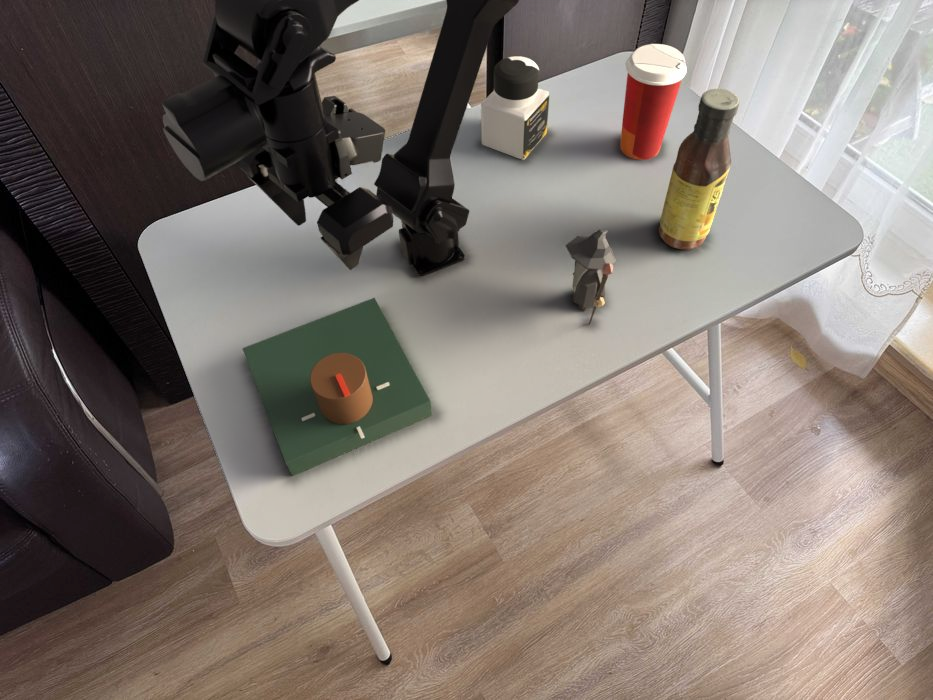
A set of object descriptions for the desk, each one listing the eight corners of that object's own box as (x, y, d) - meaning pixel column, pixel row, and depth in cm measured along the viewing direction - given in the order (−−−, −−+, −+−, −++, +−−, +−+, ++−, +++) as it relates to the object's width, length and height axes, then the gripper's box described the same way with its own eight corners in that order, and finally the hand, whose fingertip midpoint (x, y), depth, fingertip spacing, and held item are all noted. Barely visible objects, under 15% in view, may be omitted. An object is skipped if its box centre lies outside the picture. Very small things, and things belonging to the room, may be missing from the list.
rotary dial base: (377, 313, 86) (374, 296, 84) (436, 421, 77) (434, 406, 75) (249, 363, 82) (241, 347, 80) (294, 483, 73) (287, 469, 71)
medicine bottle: (523, 161, 101) (526, 87, 92) (480, 145, 104) (479, 71, 94) (547, 133, 105) (552, 59, 95) (505, 118, 107) (506, 44, 98)
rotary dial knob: (312, 391, 76) (301, 363, 72) (361, 371, 78) (353, 343, 73) (330, 432, 73) (320, 406, 69) (380, 411, 75) (373, 384, 70)
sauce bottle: (706, 255, 90) (752, 122, 74) (655, 249, 91) (690, 116, 75) (706, 219, 94) (751, 85, 78) (658, 213, 95) (692, 80, 78)
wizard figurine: (551, 293, 87) (559, 222, 77) (589, 275, 89) (601, 203, 79) (591, 340, 83) (605, 270, 73) (630, 320, 84) (648, 249, 75)
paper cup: (675, 141, 103) (698, 51, 92) (653, 171, 99) (674, 82, 88) (625, 123, 106) (641, 35, 94) (602, 153, 102) (616, 64, 91)
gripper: (429, 127, 63) (440, 250, 76) (304, 44, 71) (333, 168, 84) (329, 189, 59) (358, 308, 71) (208, 93, 67) (254, 216, 79)
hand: (326, 244), depth 77 cm, fingers open, 9 cm apart
